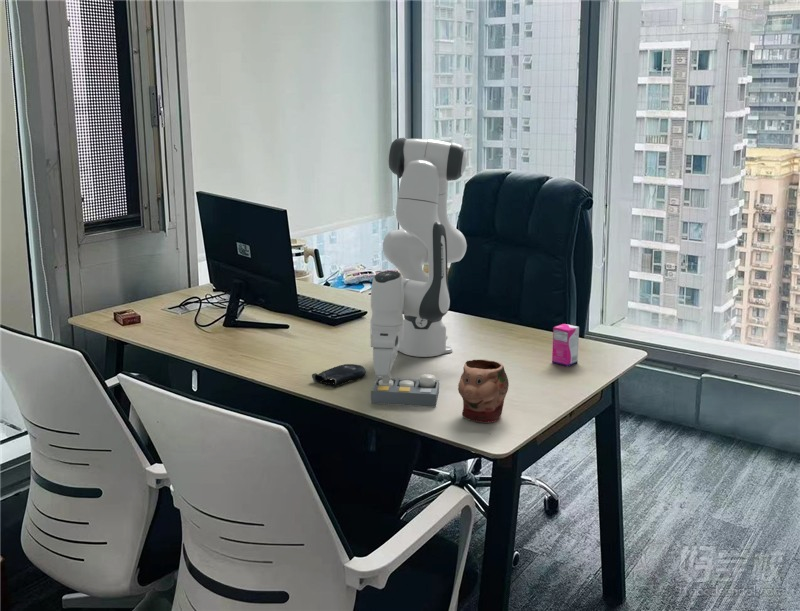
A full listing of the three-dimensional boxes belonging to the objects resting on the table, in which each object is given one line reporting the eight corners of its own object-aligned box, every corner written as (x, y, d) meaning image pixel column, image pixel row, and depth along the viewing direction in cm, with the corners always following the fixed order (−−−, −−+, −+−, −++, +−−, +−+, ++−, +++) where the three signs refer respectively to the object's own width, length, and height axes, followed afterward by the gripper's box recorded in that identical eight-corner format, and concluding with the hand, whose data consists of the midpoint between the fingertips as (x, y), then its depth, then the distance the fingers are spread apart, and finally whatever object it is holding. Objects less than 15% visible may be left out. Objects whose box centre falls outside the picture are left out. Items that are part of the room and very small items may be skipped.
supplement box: (561, 358, 263) (564, 322, 260) (578, 363, 259) (580, 326, 256) (550, 362, 259) (553, 326, 256) (567, 367, 255) (569, 330, 252)
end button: (379, 387, 231) (379, 378, 231) (394, 388, 231) (394, 379, 230) (377, 392, 228) (377, 383, 227) (392, 393, 227) (392, 384, 226)
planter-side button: (420, 382, 230) (420, 373, 229) (435, 383, 229) (435, 374, 229) (419, 387, 226) (419, 378, 225) (434, 388, 225) (434, 379, 225)
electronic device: (338, 395, 234) (373, 373, 245) (334, 376, 232) (369, 355, 243) (313, 392, 240) (349, 371, 251) (309, 373, 238) (345, 353, 249)
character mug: (470, 398, 228) (472, 348, 224) (515, 404, 224) (518, 354, 220) (448, 424, 210) (450, 371, 206) (496, 432, 206) (499, 378, 202)
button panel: (377, 389, 234) (377, 376, 233) (438, 392, 232) (439, 379, 231) (371, 403, 223) (371, 389, 222) (435, 407, 221) (436, 393, 220)
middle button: (400, 388, 231) (400, 379, 230) (414, 389, 230) (414, 380, 230) (398, 393, 227) (398, 384, 226) (413, 394, 226) (413, 385, 226)
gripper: (380, 321, 235) (380, 369, 239) (369, 342, 216) (369, 394, 219) (403, 322, 235) (402, 370, 238) (394, 344, 215) (393, 395, 218)
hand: (386, 381), depth 228 cm, fingers closed, pressing on end button
